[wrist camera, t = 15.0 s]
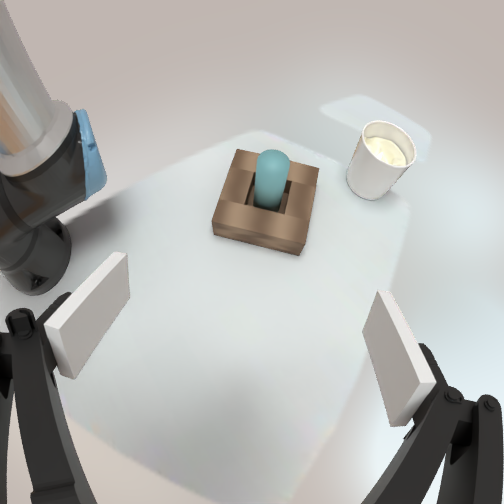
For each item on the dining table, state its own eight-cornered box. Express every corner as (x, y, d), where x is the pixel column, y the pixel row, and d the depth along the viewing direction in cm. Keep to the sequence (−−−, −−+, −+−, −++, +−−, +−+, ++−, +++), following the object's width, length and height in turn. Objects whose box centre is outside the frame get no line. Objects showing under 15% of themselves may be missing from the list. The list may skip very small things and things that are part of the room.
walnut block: (213, 234, 51) (211, 221, 46) (236, 165, 56) (236, 148, 51) (299, 255, 50) (305, 244, 46) (313, 184, 55) (319, 168, 50)
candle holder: (333, 165, 57) (351, 123, 46) (374, 157, 58) (397, 117, 47) (356, 209, 54) (381, 171, 43) (397, 198, 55) (426, 162, 44)
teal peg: (250, 213, 51) (253, 171, 40) (256, 191, 53) (261, 146, 42) (276, 220, 51) (286, 179, 40) (282, 197, 53) (292, 153, 41)
